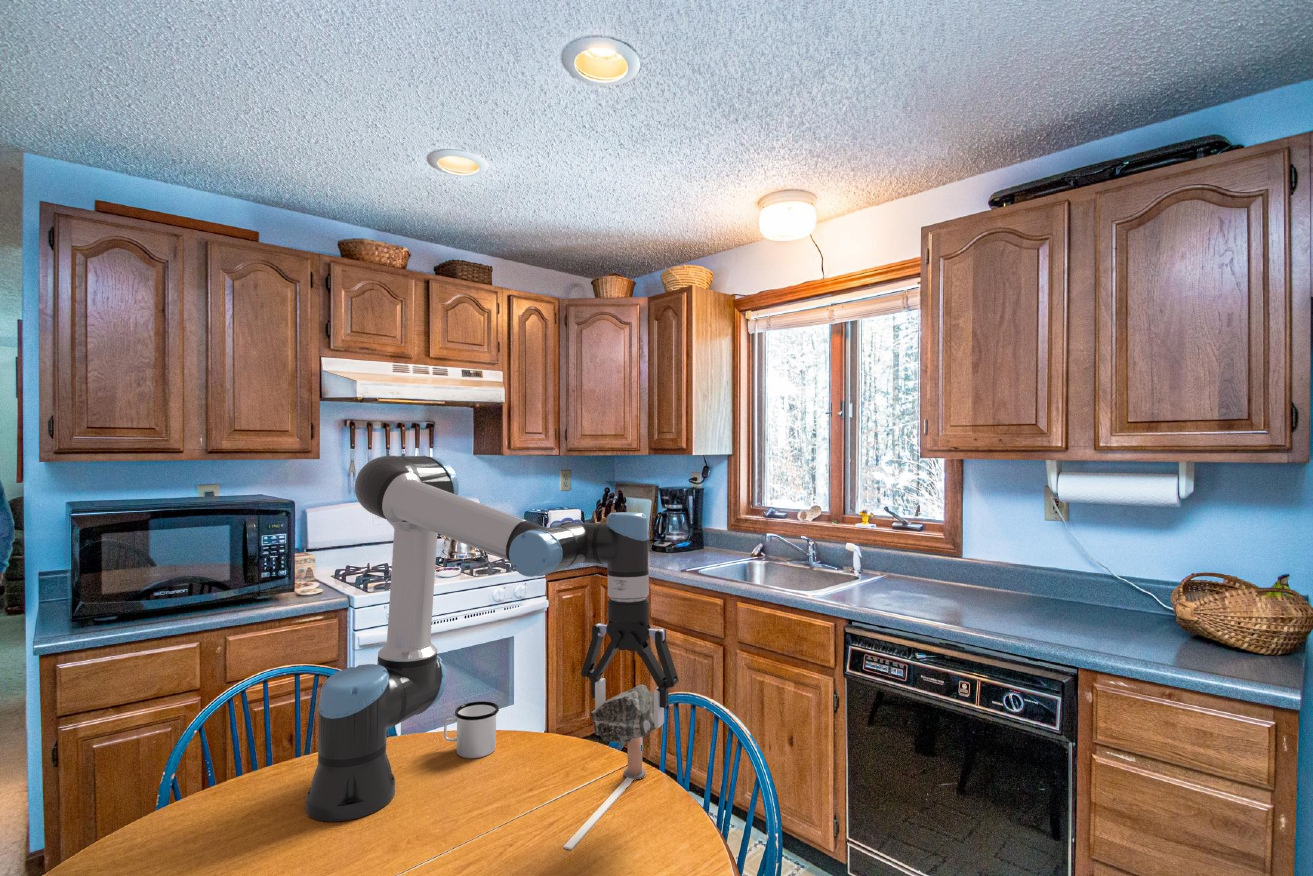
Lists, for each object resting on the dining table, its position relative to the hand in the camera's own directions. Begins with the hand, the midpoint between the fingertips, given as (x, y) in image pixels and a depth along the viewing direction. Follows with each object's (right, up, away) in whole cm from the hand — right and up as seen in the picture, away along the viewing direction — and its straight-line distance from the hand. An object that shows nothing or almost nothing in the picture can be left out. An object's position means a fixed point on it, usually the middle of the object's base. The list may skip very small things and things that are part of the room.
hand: (629, 720), depth 117 cm
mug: (-36, -18, +26) cm, 48 cm away
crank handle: (-4, -17, +3) cm, 18 cm away
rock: (0, -2, 0) cm, 2 cm away
